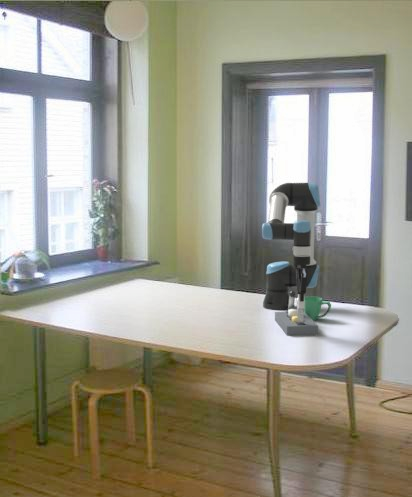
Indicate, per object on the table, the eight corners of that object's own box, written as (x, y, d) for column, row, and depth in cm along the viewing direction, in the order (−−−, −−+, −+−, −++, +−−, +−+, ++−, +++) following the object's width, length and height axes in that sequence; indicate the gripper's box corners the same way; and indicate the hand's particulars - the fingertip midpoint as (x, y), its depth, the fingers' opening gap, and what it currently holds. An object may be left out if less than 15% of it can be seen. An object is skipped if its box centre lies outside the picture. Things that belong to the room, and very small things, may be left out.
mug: (298, 319, 347) (298, 299, 345) (306, 315, 355) (307, 295, 353) (326, 323, 339) (327, 302, 337) (334, 319, 347) (335, 299, 345)
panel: (274, 320, 345) (274, 311, 345) (303, 319, 347) (303, 310, 346) (286, 335, 318) (287, 325, 317) (318, 334, 319) (318, 325, 319)
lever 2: (296, 321, 323) (295, 297, 324) (303, 321, 323) (302, 297, 325) (298, 321, 320) (297, 296, 322) (304, 321, 320) (303, 296, 322)
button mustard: (290, 324, 331) (290, 316, 331) (301, 324, 332) (301, 315, 331) (292, 327, 326) (292, 318, 326) (303, 326, 327) (303, 318, 326)
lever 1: (286, 309, 344) (288, 289, 338) (293, 309, 344) (295, 289, 339) (288, 312, 341) (290, 293, 336) (294, 312, 341) (296, 292, 336)
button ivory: (287, 317, 339) (287, 309, 338) (297, 317, 339) (297, 308, 338) (289, 319, 334) (289, 311, 333) (300, 319, 334) (300, 311, 334)
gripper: (290, 253, 324) (289, 305, 326) (296, 257, 311) (296, 311, 314) (306, 253, 325) (306, 305, 327) (313, 257, 312) (312, 310, 314)
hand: (301, 308), depth 320 cm, fingers closed
